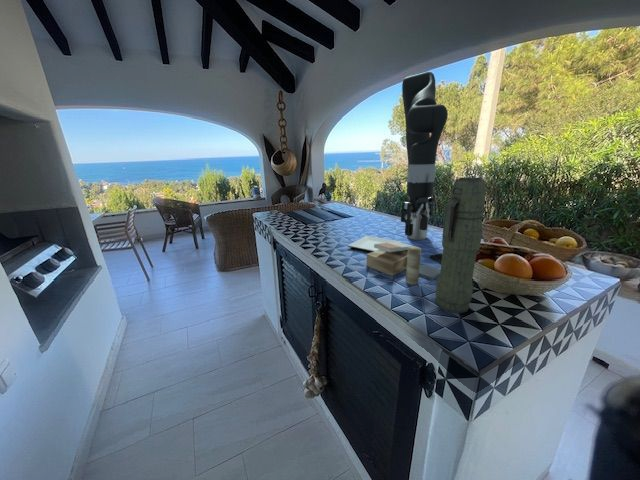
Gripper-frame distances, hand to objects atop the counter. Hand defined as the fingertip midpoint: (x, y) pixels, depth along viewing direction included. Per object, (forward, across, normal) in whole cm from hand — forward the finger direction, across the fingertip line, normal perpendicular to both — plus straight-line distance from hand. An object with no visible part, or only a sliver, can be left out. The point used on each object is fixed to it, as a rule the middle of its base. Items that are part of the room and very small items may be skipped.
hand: (416, 232), depth 81 cm
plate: (+18, -19, -31) cm, 40 cm away
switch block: (+17, -8, -13) cm, 23 cm away
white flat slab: (+10, -8, -13) cm, 18 cm away
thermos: (+18, +4, +15) cm, 23 cm away
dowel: (+17, 0, 0) cm, 17 cm away
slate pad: (+17, -10, 0) cm, 20 cm away
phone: (+18, -25, +1) cm, 31 cm away
